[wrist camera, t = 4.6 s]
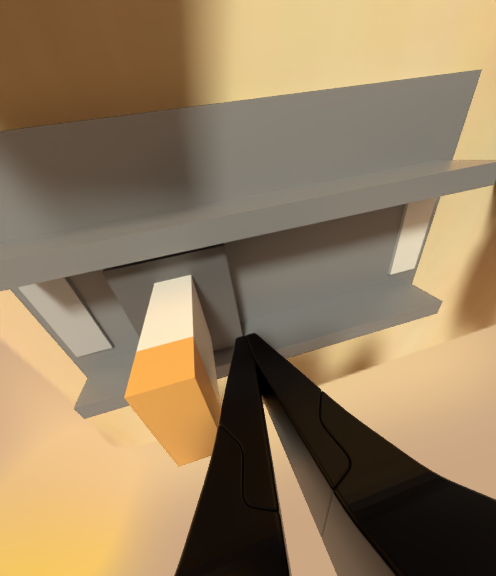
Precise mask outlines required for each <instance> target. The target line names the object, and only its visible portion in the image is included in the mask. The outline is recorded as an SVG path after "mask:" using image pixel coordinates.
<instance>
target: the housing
mask: <svg viewBox="0 0 496 576" xmlns="http://www.w3.org/2000/svg"><path fill="white" fill-rule="evenodd" d="M480 73H481V70H474V71H466V72H459V73H451V74H443V75H435V76H427V77H420V78H412V79H404V80H396V81H388V82H381V83H373V84H365V85H357V86H349V87H342V88H334V89H326V90H318V91H310V92H303V93H295V94H287V95H279V96H271V97H264V98H256V99H248V100H240V101H232V102H224V103H217V104H209V105H201V106H193V107H185V108H178V109H170V110H162V111H154V112H146V113H139V114H131V115H123V116H115V117H107V118H100V119H92V120H84V121H76V122H68V123H61V124H53V125H45V126H37V127H29V128H22V129H14V130H6V131H0V291H3V290H8V289H10V290H11V291H12V292H13V293H14V294H15V295H16V297H17V298H18V299H19V300H20V301H21V302H22V303H23V305H24V306H25V307H26V308H27V309H28V310H29V311H30V313H31V314H32V315H33V316H34V317H35V318H36V319H37V321H38V322H39V323H40V324H41V325H42V326H43V327H44V329H45V330H46V331H47V332H48V333H49V334H50V335H51V337H52V338H53V339H54V340H55V341H56V342H57V343H58V345H59V346H60V347H61V348H62V349H63V350H64V351H65V353H66V354H67V355H68V356H69V357H70V358H71V359H72V361H73V362H74V363H75V364H76V365H77V366H78V367H79V369H80V370H81V371H82V372H83V373H84V374H85V375H86V377H87V381H86V383H85V385H84V387H83V389H82V392H81V394H80V396H79V398H78V400H77V403H76V405H75V407H74V410H75V411H77V412H78V413H79V414H80V415H81V416H82V417H83V418H84V419H86V418H89V417H92V416H96V415H99V414H102V413H106V412H109V411H112V410H116V409H119V408H122V407H126V406H129V403H128V402H127V401H126V400H125V398H124V396H125V393H126V389H127V385H128V381H129V378H130V374H131V370H132V366H133V362H134V359H135V355H136V351H137V347H138V344H139V340H140V338H139V336H138V334H137V333H136V331H135V329H134V327H133V326H132V324H131V322H130V320H129V319H128V317H127V315H126V313H125V312H124V310H123V308H122V306H121V305H120V303H119V301H118V299H117V297H116V296H115V294H114V292H113V290H112V289H111V287H110V285H109V283H108V282H107V280H106V278H105V276H104V275H103V273H102V271H103V270H104V269H105V268H110V267H115V266H119V265H124V264H129V263H133V262H138V261H143V260H147V259H152V258H156V257H161V256H166V255H170V254H175V253H180V252H184V251H189V250H194V249H198V248H203V247H207V246H212V245H217V244H221V243H223V244H224V248H225V252H226V257H227V262H228V267H229V272H230V277H231V282H232V286H233V291H234V296H235V301H236V306H237V311H238V316H239V321H240V325H241V330H242V335H243V336H244V335H245V336H246V335H248V334H251V333H256V334H258V335H259V336H260V337H261V338H262V339H263V340H264V341H266V342H267V343H268V344H269V345H270V346H271V347H273V348H274V349H275V350H276V351H277V352H278V353H279V354H281V355H282V356H283V357H284V358H285V359H286V358H290V357H293V356H296V355H300V354H303V353H306V352H310V351H313V350H316V349H320V348H323V347H326V346H330V345H333V344H336V343H340V342H343V341H346V340H350V339H353V338H356V337H360V336H363V335H366V334H370V333H373V332H376V331H380V330H383V329H386V328H390V327H393V326H396V325H400V324H403V323H406V322H410V321H413V320H416V319H420V318H423V317H426V316H430V315H433V314H437V312H438V310H439V308H440V306H441V303H442V301H441V300H439V299H437V298H436V297H434V296H432V295H430V294H428V293H427V292H425V291H423V290H421V289H419V288H418V287H416V286H414V285H412V282H413V279H414V276H415V273H416V270H417V267H418V264H419V261H420V258H421V254H422V251H423V248H424V245H425V242H426V239H427V236H428V233H429V230H430V227H431V224H432V221H433V218H434V215H435V211H436V208H437V205H438V202H439V199H440V196H444V195H449V194H453V193H458V192H463V191H467V190H472V189H476V188H481V187H486V186H490V185H494V183H495V180H496V160H452V159H453V156H454V153H455V150H456V147H457V144H458V141H459V138H460V135H461V132H462V129H463V126H464V123H465V119H466V116H467V113H468V110H469V107H470V104H471V101H472V98H473V95H474V92H475V89H476V86H477V83H478V80H479V77H480ZM233 349H234V346H231V347H227V348H223V349H220V350H216V351H213V354H214V362H215V369H216V376H217V379H219V378H223V377H226V376H228V374H229V369H230V364H231V359H232V354H233Z"/></svg>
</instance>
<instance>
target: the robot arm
mask: <svg viewBox="0 0 496 576" xmlns="http://www.w3.org/2000/svg"><path fill="white" fill-rule="evenodd" d="M262 398H263V400H264V403H265V405H266V407H267V410H268V412H269V415H270V417H271V419H272V421H273V424H274V426H275V429H276V431H277V433H278V436H279V438H280V441H281V443H282V445H283V447H284V450H285V452H286V455H287V457H288V460H289V462H290V464H291V467H292V469H293V471H294V474H295V476H296V478H297V481H298V483H299V485H300V488H301V490H302V493H303V495H304V497H305V500H306V502H307V504H308V507H309V509H310V512H311V514H312V516H313V519H314V521H315V523H316V526H317V528H318V530H319V533H320V535H321V537H322V540H323V542H324V545H325V547H326V550H327V552H328V554H329V557H330V559H331V561H332V564H333V566H334V568H335V571H336V573H337V575H338V576H496V499H493V498H491V497H488V496H486V495H484V494H481V493H478V492H476V491H474V490H471V489H469V488H467V487H464V486H462V485H459V484H457V483H455V482H452V481H450V480H448V479H446V478H444V477H442V476H440V475H438V474H437V473H435V472H433V471H431V470H429V469H428V468H426V467H425V466H423V465H421V464H420V463H418V462H417V461H416V460H414V459H413V458H411V457H409V456H408V455H407V454H406V453H404V452H403V451H401V450H400V449H398V448H397V447H396V446H394V445H393V444H392V443H390V442H388V441H387V440H386V439H384V438H383V437H382V436H380V435H379V434H377V433H376V432H375V431H373V430H372V429H370V428H369V427H368V426H366V425H365V424H363V423H362V422H361V421H359V420H358V419H357V418H355V417H354V416H353V415H351V414H350V413H349V412H347V411H346V410H345V409H344V408H342V407H341V406H340V405H339V404H338V403H336V402H335V401H334V400H333V399H332V398H330V397H329V396H328V395H327V394H326V393H325V392H323V391H322V392H321V389H320V388H319V387H318V386H316V385H315V384H314V383H313V382H312V381H311V380H309V379H308V378H307V377H306V376H305V375H304V374H303V373H301V372H300V371H299V370H298V369H297V368H296V367H294V366H293V365H292V364H291V363H290V362H289V361H288V360H286V359H285V358H284V357H283V356H282V355H281V354H279V353H278V352H277V351H276V350H275V349H274V348H273V347H271V346H270V345H269V344H268V343H267V342H266V341H264V340H263V339H262V338H261V337H260V336H259V335H258V334H256V333H251V334H248V335H246V336H245V335H244V336H240V337H237V338H236V339H235V344H234V349H233V354H232V359H231V364H230V369H229V374H228V379H227V384H226V389H225V394H224V399H223V404H222V409H221V414H220V419H219V426H218V428H217V433H216V438H215V443H214V447H213V451H212V456H211V460H210V464H209V467H208V471H207V474H206V478H205V481H204V485H203V488H202V491H201V494H200V498H199V501H198V504H197V507H196V511H195V514H194V517H193V520H192V523H191V527H190V530H189V533H188V536H187V539H186V543H185V546H184V549H183V552H182V555H181V558H180V561H179V564H178V567H177V570H176V573H175V575H174V576H292V575H291V569H290V563H289V557H288V552H287V545H286V539H285V534H284V527H283V522H282V515H281V509H280V503H279V497H278V491H277V485H276V480H275V473H274V467H273V461H272V456H271V450H270V444H269V438H268V432H267V426H266V420H265V414H264V408H263V402H262Z"/></svg>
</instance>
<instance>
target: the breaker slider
mask: <svg viewBox="0 0 496 576" xmlns="http://www.w3.org/2000/svg"><path fill="white" fill-rule="evenodd" d="M102 273H103V275H104V276H105V278H106V280H107V282H108V283H109V285H110V287H111V289H112V290H113V292H114V294H115V296H116V297H117V299H118V301H119V303H120V305H121V306H122V308H123V310H124V312H125V313H126V315H127V317H128V319H129V320H130V322H131V324H132V326H133V327H134V329H135V331H136V333H137V334H138V336H139V338H140V340H139V344H138V347H137V351H136V355H135V359H134V362H133V366H132V370H131V374H130V378H129V381H128V385H127V389H126V393H125V396H124V398H125V400H126V401H127V402H128V403H129V405H130V406H131V407H132V409H133V410H134V411H135V412H136V414H137V415H138V416H139V417H140V419H141V420H142V421H143V422H144V424H145V425H146V426H147V428H148V429H149V430H150V431H151V433H152V434H153V435H154V436H155V438H156V439H157V440H158V441H159V443H160V444H161V445H162V446H163V448H164V449H165V450H166V452H167V453H168V454H169V455H170V457H171V458H172V459H173V460H174V462H175V463H176V464H177V465H178V466H182V465H185V464H188V463H191V462H193V461H197V460H199V459H202V458H205V457H208V456H211V455H212V451H213V447H214V443H215V438H216V433H217V428H218V426H219V419H220V414H221V406H220V399H219V391H218V384H217V376H216V369H215V362H214V354H213V351H216V350H220V349H223V348H227V347H231V346H234V344H235V339H236V338H237V337H240V336H243V335H242V330H241V325H240V321H239V316H238V311H237V306H236V301H235V296H234V291H233V286H232V282H231V277H230V272H229V267H228V262H227V257H226V252H225V248H224V244H223V243H221V244H217V245H212V246H207V247H203V248H198V249H194V250H189V251H184V252H180V253H175V254H170V255H166V256H161V257H156V258H152V259H147V260H143V261H138V262H133V263H129V264H124V265H119V266H115V267H110V268H105V269H104V270H103V271H102Z"/></svg>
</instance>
